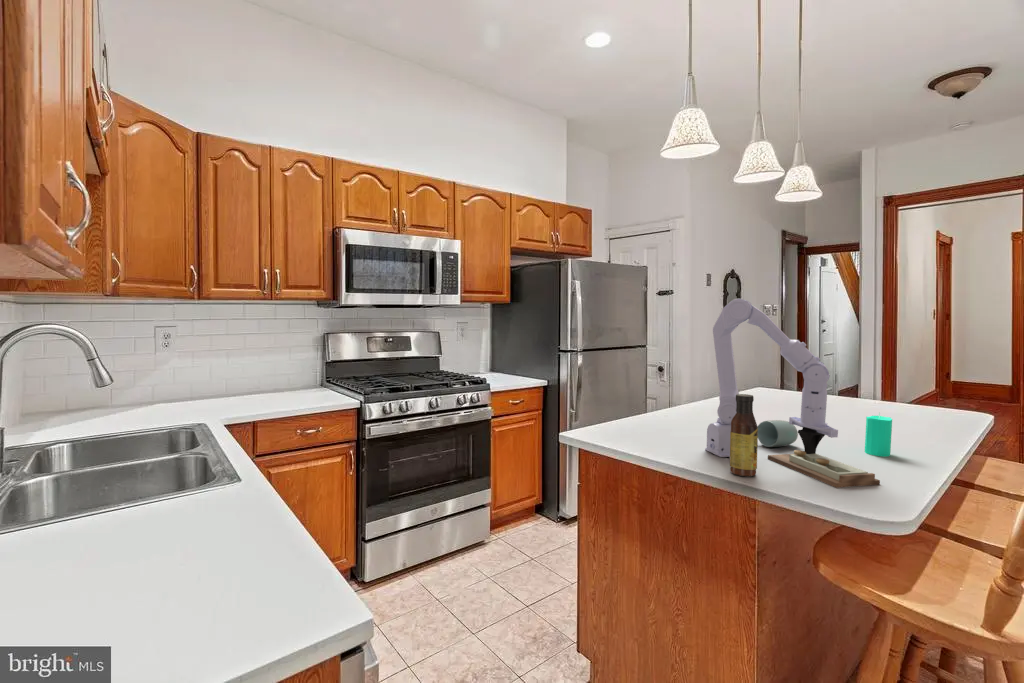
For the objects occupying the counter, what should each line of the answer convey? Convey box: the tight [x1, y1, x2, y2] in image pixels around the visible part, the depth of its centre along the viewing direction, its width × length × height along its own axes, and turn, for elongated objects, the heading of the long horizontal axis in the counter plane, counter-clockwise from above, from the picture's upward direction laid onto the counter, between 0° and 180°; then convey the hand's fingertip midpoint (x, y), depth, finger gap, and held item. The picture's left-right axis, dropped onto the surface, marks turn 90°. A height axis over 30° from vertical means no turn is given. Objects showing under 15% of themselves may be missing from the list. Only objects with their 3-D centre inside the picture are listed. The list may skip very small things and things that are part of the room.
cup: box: [757, 419, 799, 448], centre depth 153 cm, size 8×8×10 cm
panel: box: [789, 453, 869, 481], centre depth 127 cm, size 8×16×2 cm, turn 11°
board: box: [767, 449, 881, 489], centre depth 129 cm, size 12×23×4 cm, turn 11°
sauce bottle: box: [729, 393, 759, 477], centre depth 126 cm, size 6×6×20 cm
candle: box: [864, 412, 893, 457], centre depth 145 cm, size 6×6×12 cm
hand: (810, 456), depth 135 cm, fingers closed, pressing on panel
